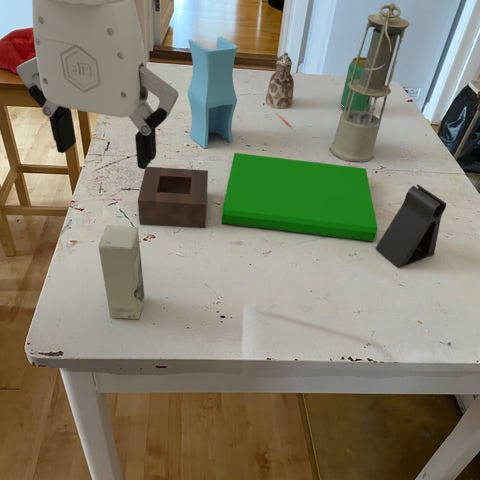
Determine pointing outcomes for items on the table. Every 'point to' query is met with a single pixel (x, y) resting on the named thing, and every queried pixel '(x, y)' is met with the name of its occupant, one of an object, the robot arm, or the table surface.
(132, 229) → the box
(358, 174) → the book
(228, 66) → the vase
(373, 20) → the lamp
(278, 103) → the figurine
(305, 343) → the table surface
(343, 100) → the beverage can
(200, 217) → the brown frame
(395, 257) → the phone stand
